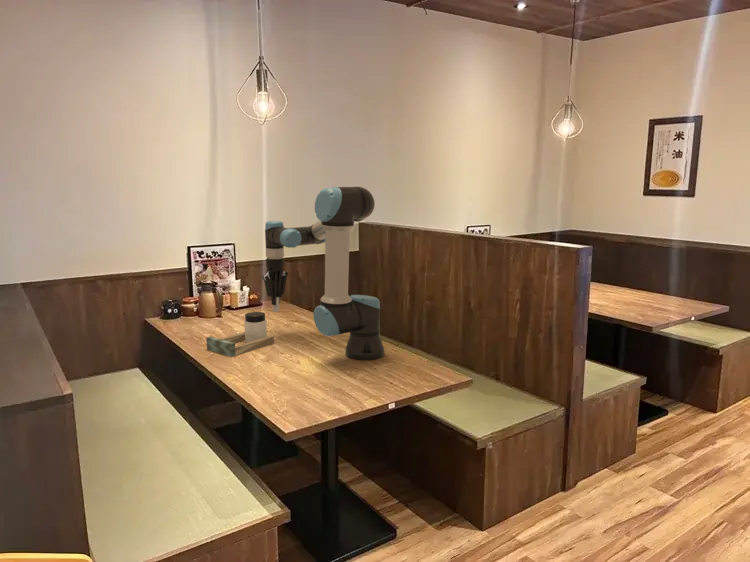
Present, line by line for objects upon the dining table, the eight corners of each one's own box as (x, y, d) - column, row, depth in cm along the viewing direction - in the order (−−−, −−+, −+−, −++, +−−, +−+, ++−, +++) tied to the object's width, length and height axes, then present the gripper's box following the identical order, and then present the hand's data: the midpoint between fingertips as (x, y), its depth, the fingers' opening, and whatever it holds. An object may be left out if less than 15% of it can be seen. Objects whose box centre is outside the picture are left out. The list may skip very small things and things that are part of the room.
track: (273, 343, 239) (273, 331, 238) (231, 356, 222) (230, 344, 221) (249, 337, 248) (249, 325, 247) (207, 349, 230) (206, 337, 230)
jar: (244, 345, 236) (243, 316, 234) (246, 339, 244) (244, 312, 242) (266, 344, 237) (265, 316, 235) (267, 338, 245) (266, 311, 243)
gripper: (280, 254, 251) (281, 307, 256) (257, 258, 241) (258, 313, 246) (292, 256, 247) (293, 310, 251) (269, 260, 236) (270, 316, 241)
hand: (276, 311), depth 249 cm, fingers closed
